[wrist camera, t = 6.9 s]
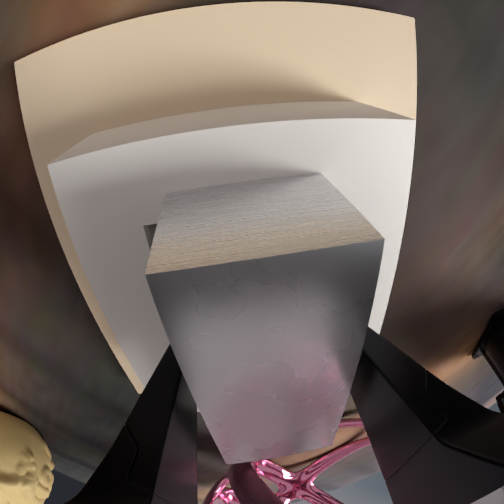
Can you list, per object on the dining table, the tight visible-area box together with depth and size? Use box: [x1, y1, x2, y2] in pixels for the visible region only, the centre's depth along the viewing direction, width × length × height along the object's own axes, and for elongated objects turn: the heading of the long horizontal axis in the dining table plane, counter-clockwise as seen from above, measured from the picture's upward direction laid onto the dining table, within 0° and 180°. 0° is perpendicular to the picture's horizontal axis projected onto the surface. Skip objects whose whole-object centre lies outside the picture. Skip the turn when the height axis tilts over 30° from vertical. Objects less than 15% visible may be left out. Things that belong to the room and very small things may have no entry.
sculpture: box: [0, 411, 54, 504], centre depth 18 cm, size 11×12×11 cm
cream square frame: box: [14, 2, 417, 412], centre depth 12 cm, size 20×16×5 cm
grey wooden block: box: [145, 173, 385, 464], centre depth 10 cm, size 9×4×8 cm, turn 5°
